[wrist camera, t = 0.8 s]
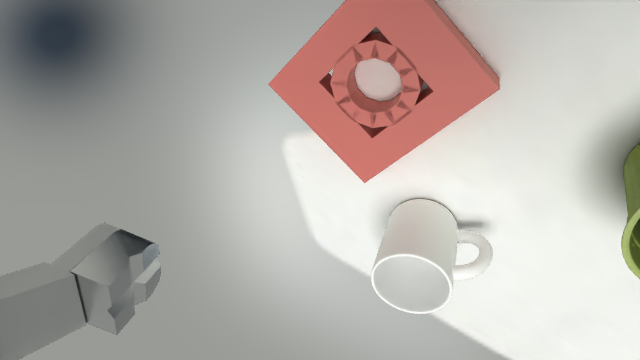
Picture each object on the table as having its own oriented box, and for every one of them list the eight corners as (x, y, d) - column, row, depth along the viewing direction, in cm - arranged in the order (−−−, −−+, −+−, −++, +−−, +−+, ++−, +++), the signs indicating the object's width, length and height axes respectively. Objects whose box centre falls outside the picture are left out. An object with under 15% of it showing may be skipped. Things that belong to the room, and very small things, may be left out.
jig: (393, -48, 38) (386, -44, 36) (499, 77, 41) (499, 89, 39) (279, 74, 48) (268, 84, 46) (370, 169, 51) (364, 183, 49)
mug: (490, 193, 48) (489, 255, 40) (495, 252, 51) (495, 319, 43) (383, 197, 52) (363, 253, 44) (395, 250, 56) (378, 311, 48)
